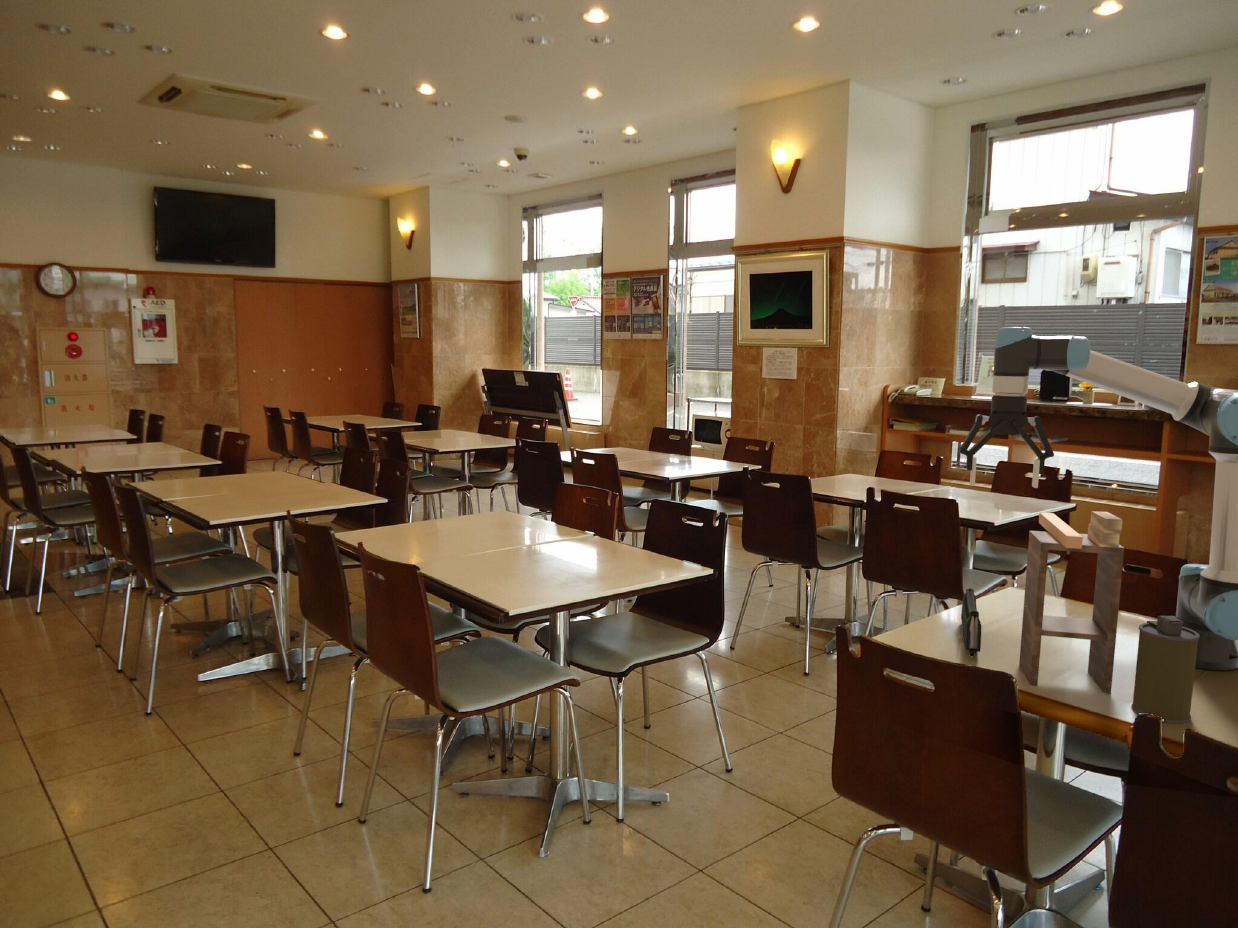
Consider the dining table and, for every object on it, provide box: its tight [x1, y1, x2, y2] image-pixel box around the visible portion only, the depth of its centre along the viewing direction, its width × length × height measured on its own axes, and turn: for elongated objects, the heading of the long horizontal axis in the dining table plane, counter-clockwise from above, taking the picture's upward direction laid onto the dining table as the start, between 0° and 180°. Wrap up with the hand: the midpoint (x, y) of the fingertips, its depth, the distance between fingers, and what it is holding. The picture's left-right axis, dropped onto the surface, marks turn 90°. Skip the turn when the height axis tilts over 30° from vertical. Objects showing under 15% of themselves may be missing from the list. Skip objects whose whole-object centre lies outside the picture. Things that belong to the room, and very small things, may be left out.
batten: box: [1038, 512, 1083, 549], centre depth 197 cm, size 28×3×2 cm, turn 165°
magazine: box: [960, 588, 982, 657], centre depth 223 cm, size 17×3×30 cm
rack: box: [1018, 510, 1125, 695], centre depth 195 cm, size 16×14×38 cm
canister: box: [1131, 615, 1200, 724], centre depth 178 cm, size 11×10×20 cm
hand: (1003, 485), depth 206 cm, fingers open, 13 cm apart
